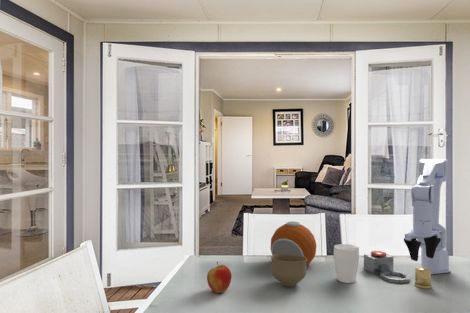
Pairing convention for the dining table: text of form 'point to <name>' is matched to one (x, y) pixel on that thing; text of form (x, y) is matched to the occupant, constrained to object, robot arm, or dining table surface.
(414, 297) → the dining table surface
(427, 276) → the knob
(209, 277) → the apple
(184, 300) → the dining table surface
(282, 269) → the bowl
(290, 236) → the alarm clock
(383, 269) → the red button switch
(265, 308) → the dining table surface
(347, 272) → the cup
